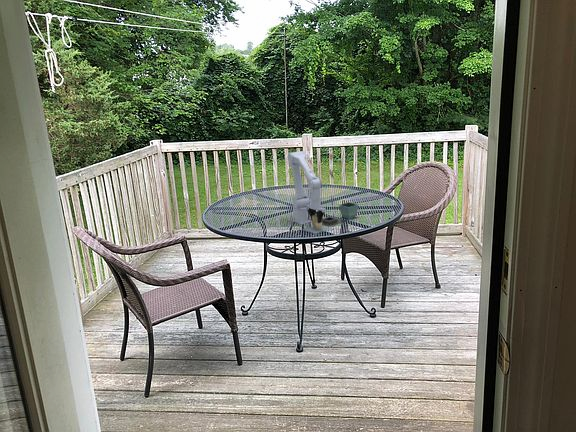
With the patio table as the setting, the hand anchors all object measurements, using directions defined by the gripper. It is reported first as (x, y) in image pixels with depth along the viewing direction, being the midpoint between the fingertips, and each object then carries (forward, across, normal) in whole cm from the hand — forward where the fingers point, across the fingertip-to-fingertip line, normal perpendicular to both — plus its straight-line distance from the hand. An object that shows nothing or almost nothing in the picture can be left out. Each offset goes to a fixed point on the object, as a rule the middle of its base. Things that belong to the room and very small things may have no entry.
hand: (316, 221), depth 271 cm
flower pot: (+5, +2, -29) cm, 30 cm away
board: (+5, 0, 0) cm, 5 cm away
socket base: (+5, +5, -15) cm, 17 cm away
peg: (+4, 0, -1) cm, 4 cm away
